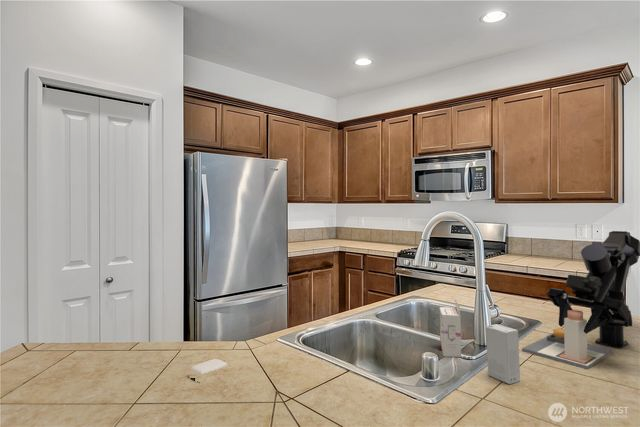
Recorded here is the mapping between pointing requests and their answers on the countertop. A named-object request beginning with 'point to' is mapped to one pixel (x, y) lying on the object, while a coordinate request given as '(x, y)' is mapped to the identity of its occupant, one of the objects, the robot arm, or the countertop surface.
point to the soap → (209, 366)
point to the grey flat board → (556, 351)
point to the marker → (575, 335)
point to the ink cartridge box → (450, 331)
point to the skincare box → (503, 353)
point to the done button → (558, 333)
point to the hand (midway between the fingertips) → (572, 328)
